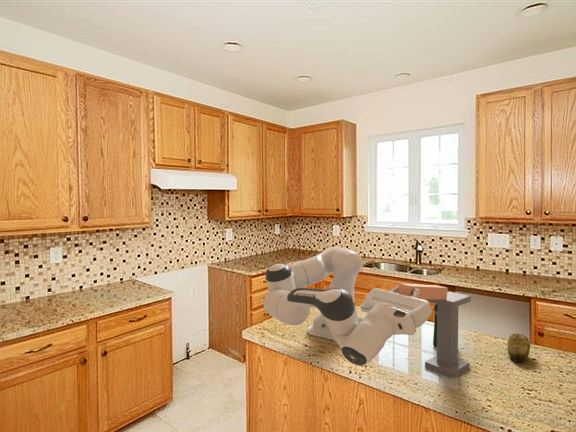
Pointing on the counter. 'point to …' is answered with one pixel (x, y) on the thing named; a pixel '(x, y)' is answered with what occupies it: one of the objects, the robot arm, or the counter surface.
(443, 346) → the stand
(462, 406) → the counter surface
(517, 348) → the potato
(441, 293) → the block
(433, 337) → the coffee jar
